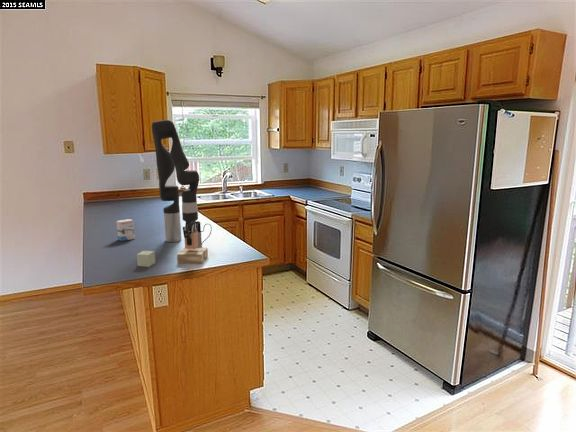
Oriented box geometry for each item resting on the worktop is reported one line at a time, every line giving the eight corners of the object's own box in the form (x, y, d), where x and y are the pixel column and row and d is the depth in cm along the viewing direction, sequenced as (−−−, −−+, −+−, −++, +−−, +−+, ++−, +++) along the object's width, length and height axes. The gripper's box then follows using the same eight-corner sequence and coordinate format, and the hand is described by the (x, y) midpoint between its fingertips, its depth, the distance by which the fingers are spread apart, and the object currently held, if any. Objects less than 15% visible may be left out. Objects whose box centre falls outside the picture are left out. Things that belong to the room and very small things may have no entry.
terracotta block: (189, 245, 195) (188, 230, 193) (198, 246, 194) (197, 230, 192) (185, 248, 190) (184, 232, 188) (194, 248, 189) (193, 233, 187)
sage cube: (144, 262, 189) (143, 250, 188) (155, 262, 188) (154, 251, 187) (137, 266, 183) (136, 254, 182) (149, 266, 182) (148, 254, 181)
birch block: (185, 256, 199) (184, 247, 198) (207, 256, 198) (207, 247, 197) (177, 264, 187) (177, 254, 186) (201, 264, 187) (201, 254, 186)
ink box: (120, 241, 225) (119, 222, 223) (117, 239, 229) (115, 220, 226) (135, 238, 231) (133, 220, 229) (131, 237, 235) (130, 218, 232)
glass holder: (185, 247, 214) (184, 221, 211) (211, 244, 219) (209, 219, 216) (187, 251, 206) (186, 224, 203) (213, 249, 211) (212, 222, 208)
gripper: (188, 207, 196) (190, 239, 199) (176, 213, 182) (178, 247, 185) (202, 208, 194) (204, 240, 198) (191, 213, 180) (192, 248, 184)
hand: (191, 243), depth 192 cm, fingers closed on terracotta block, 5 cm apart
